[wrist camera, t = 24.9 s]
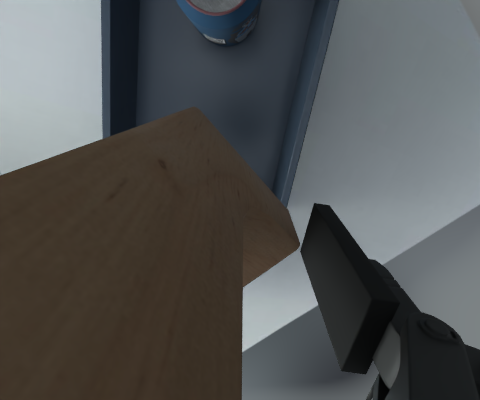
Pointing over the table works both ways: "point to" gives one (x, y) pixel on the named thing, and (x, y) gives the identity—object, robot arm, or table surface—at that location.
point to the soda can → (222, 19)
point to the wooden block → (134, 266)
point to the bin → (219, 76)
